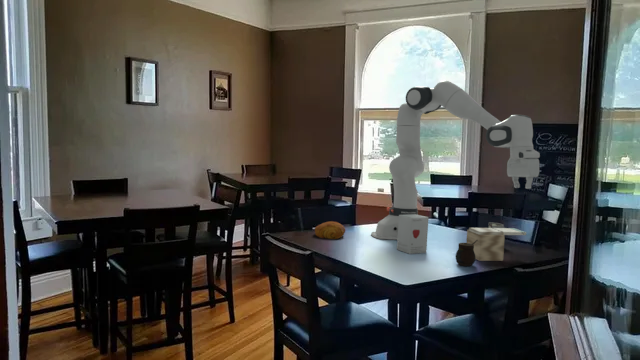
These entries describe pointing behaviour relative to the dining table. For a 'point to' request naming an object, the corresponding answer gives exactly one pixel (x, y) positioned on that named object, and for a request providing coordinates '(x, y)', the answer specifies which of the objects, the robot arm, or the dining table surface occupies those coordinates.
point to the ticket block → (487, 243)
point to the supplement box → (412, 233)
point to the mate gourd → (465, 254)
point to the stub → (511, 231)
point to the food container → (495, 225)
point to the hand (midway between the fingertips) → (522, 188)
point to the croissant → (330, 230)
